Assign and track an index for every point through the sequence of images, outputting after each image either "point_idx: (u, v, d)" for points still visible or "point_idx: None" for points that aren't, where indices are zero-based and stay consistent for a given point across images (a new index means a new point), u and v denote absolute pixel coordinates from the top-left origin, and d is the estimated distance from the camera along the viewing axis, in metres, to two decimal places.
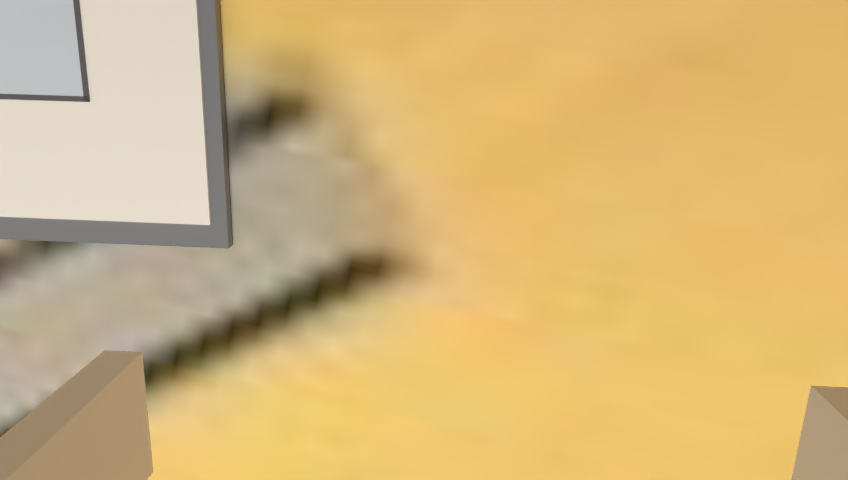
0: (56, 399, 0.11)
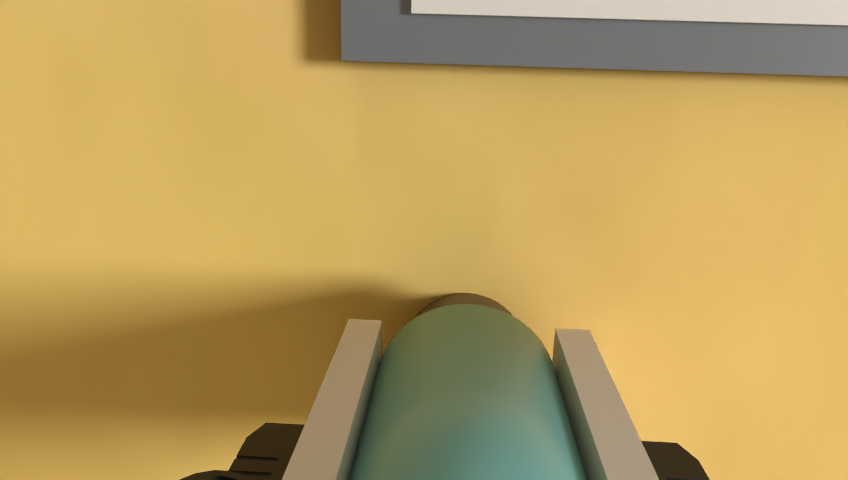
0: (342, 356, 0.13)
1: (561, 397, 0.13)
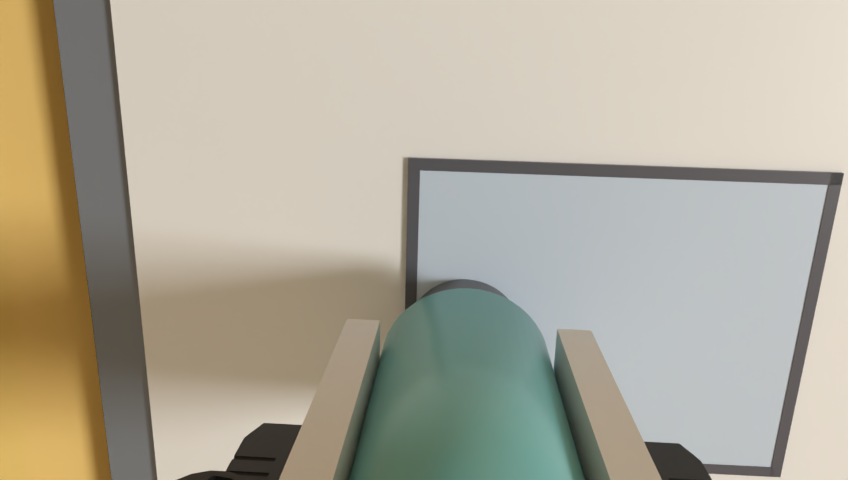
0: (340, 356, 0.13)
1: (553, 374, 0.14)
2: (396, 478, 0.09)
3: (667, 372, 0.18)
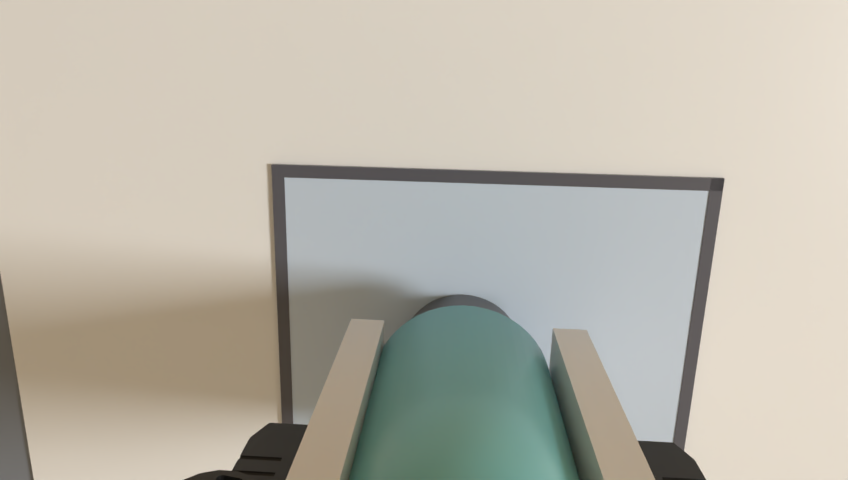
0: (345, 356, 0.13)
1: (554, 396, 0.13)
2: None
3: None
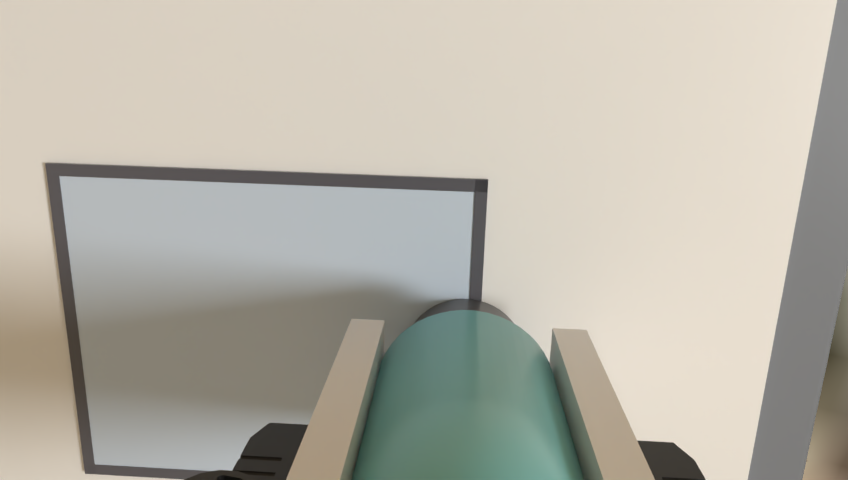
0: (345, 356, 0.13)
1: (558, 399, 0.13)
2: None
3: None
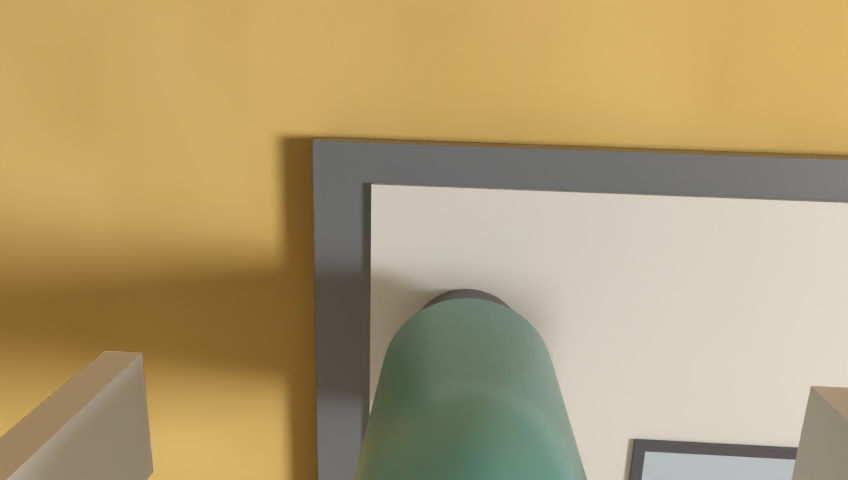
0: (56, 399, 0.11)
1: (555, 381, 0.13)
2: None
3: None
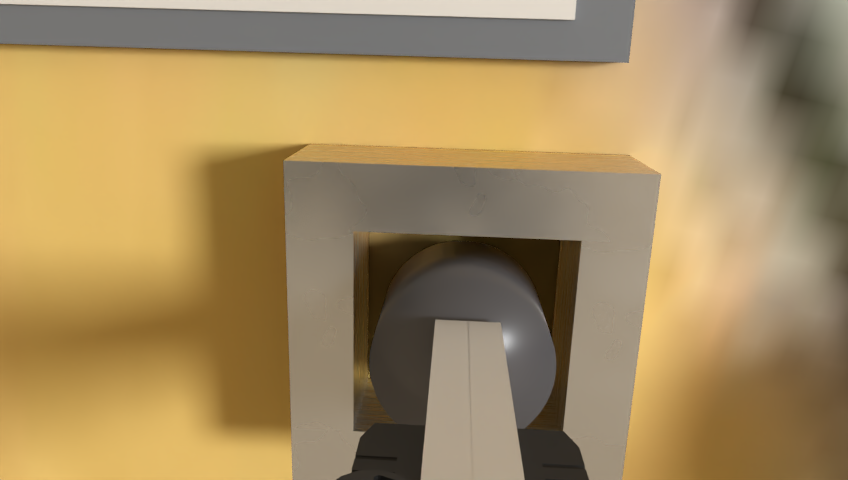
0: (440, 356, 0.13)
1: None
2: None
3: None
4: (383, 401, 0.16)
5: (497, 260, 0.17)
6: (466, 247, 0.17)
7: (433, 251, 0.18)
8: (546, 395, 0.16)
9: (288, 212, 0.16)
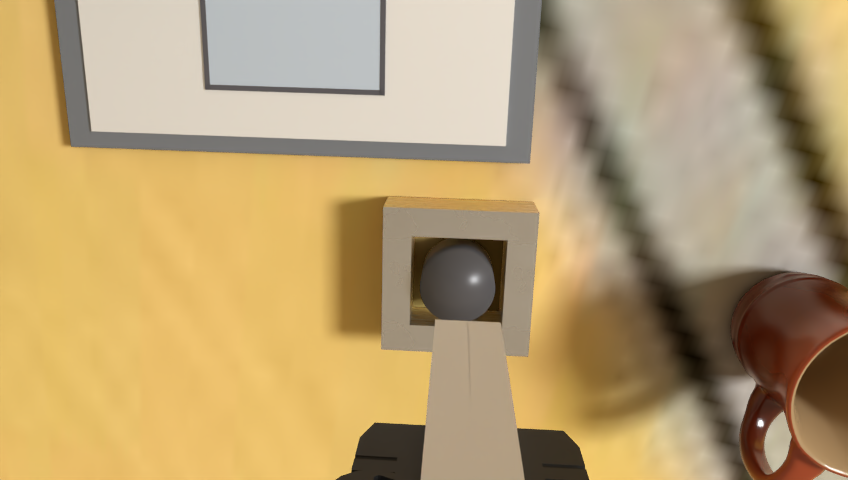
0: (440, 356, 0.13)
1: None
2: None
3: (324, 38, 0.38)
4: (425, 302, 0.39)
5: (472, 245, 0.40)
6: (459, 240, 0.41)
7: (445, 241, 0.41)
8: (491, 299, 0.39)
9: (384, 228, 0.39)
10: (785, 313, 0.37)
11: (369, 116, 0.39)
